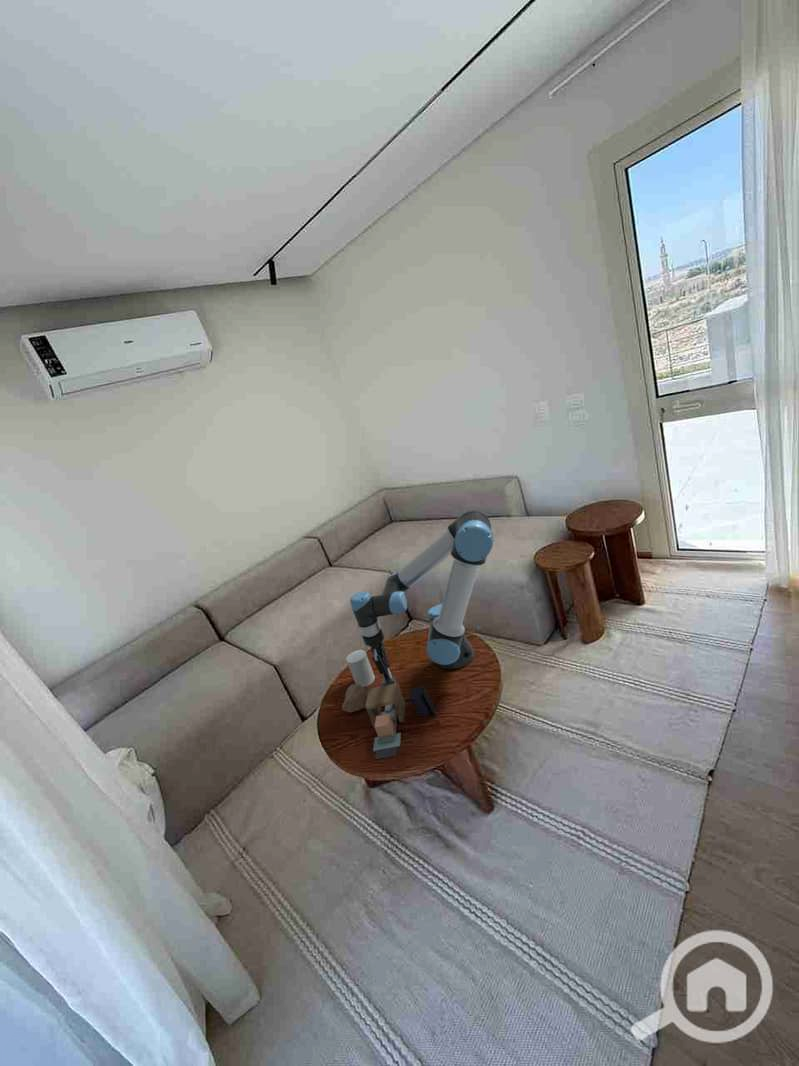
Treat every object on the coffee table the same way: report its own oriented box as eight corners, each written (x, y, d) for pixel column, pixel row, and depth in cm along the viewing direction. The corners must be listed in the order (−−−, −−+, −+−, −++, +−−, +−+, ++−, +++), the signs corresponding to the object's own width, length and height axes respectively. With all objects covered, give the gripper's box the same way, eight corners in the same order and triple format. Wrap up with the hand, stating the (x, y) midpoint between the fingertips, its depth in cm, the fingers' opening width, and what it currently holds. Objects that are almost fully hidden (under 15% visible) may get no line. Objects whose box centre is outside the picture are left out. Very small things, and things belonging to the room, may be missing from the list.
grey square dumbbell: (399, 686, 167) (395, 677, 166) (395, 740, 143) (391, 729, 141) (384, 690, 168) (380, 680, 167) (377, 744, 143) (373, 733, 142)
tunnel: (405, 703, 159) (397, 682, 156) (404, 721, 150) (396, 700, 148) (376, 709, 160) (368, 689, 157) (373, 727, 152) (365, 706, 149)
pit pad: (397, 747, 140) (396, 747, 140) (396, 755, 137) (396, 755, 137) (376, 751, 141) (376, 751, 141) (375, 759, 138) (375, 759, 138)
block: (393, 725, 148) (389, 713, 146) (392, 736, 143) (388, 724, 142) (380, 727, 148) (376, 716, 147) (379, 739, 144) (374, 727, 142)
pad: (400, 733, 146) (400, 732, 146) (400, 746, 141) (399, 745, 140) (375, 738, 147) (374, 737, 147) (373, 751, 142) (373, 750, 142)
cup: (372, 686, 174) (362, 661, 170) (353, 688, 176) (343, 663, 172) (376, 672, 181) (368, 648, 178) (358, 675, 183) (349, 651, 180)
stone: (369, 717, 161) (373, 690, 161) (344, 717, 157) (349, 689, 157) (360, 703, 172) (364, 678, 172) (337, 703, 169) (341, 677, 169)
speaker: (439, 703, 153) (428, 681, 150) (436, 716, 148) (424, 693, 145) (420, 705, 156) (409, 683, 153) (416, 718, 151) (404, 695, 148)
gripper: (364, 624, 167) (382, 674, 175) (359, 644, 155) (378, 697, 162) (382, 620, 166) (400, 670, 174) (379, 639, 154) (398, 693, 161)
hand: (389, 683), depth 168 cm, fingers closed
